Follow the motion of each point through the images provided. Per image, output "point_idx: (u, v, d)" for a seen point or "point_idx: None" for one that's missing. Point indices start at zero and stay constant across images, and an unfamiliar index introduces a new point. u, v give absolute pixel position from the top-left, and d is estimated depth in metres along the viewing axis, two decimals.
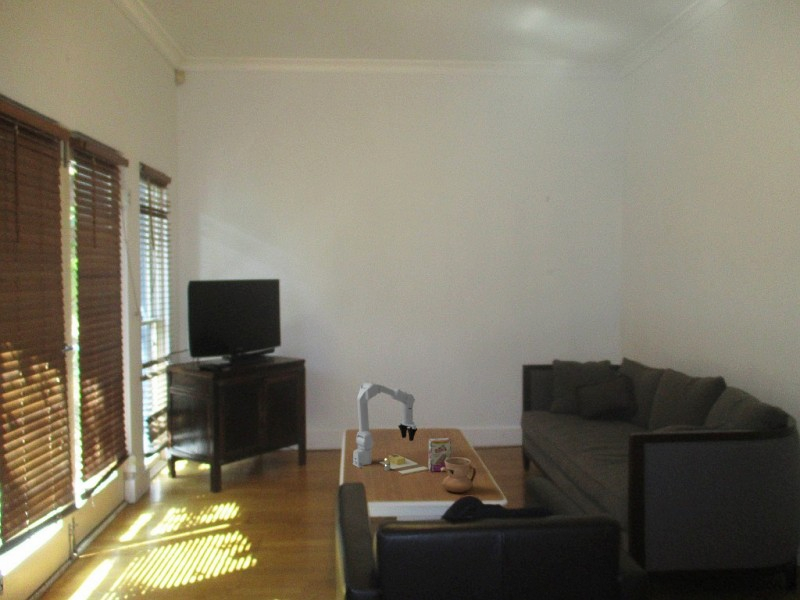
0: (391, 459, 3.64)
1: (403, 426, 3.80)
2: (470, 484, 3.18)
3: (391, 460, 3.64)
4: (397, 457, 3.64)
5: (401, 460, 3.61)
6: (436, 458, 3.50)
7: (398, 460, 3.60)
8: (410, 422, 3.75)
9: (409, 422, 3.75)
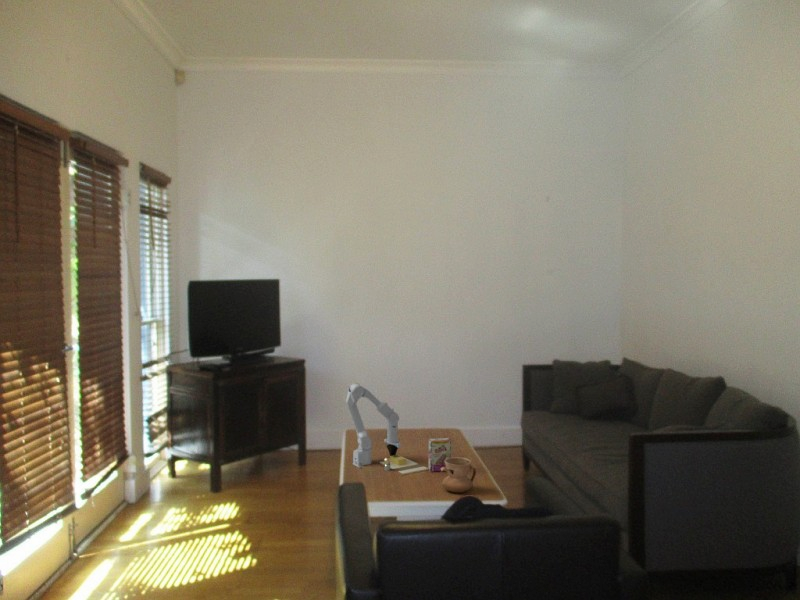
0: (392, 460, 3.63)
1: None
2: (470, 484, 3.18)
3: (392, 461, 3.63)
4: (399, 457, 3.63)
5: (402, 461, 3.59)
6: (436, 458, 3.50)
7: (399, 461, 3.58)
8: (395, 441, 3.65)
9: (394, 441, 3.65)
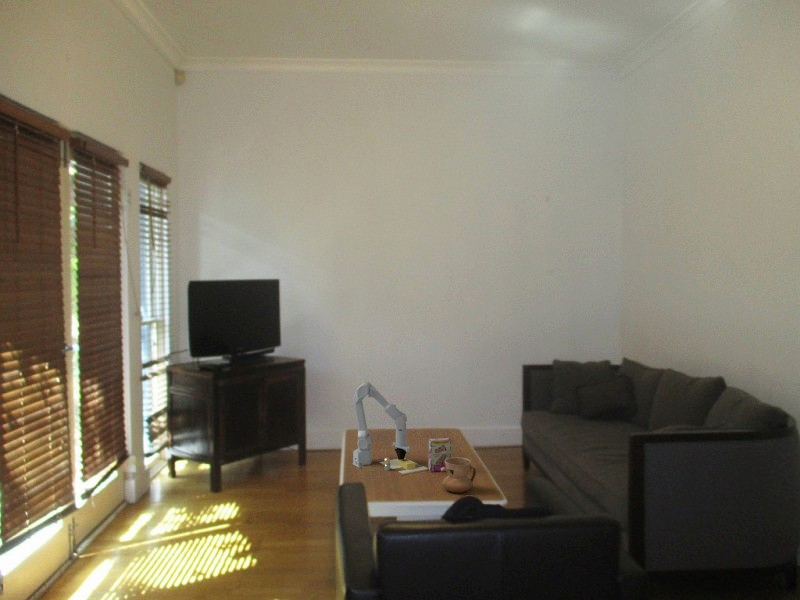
0: (401, 464, 3.56)
1: None
2: (470, 484, 3.18)
3: (401, 465, 3.56)
4: (407, 461, 3.55)
5: (411, 465, 3.52)
6: (436, 458, 3.50)
7: (408, 465, 3.51)
8: (404, 444, 3.58)
9: (403, 444, 3.58)
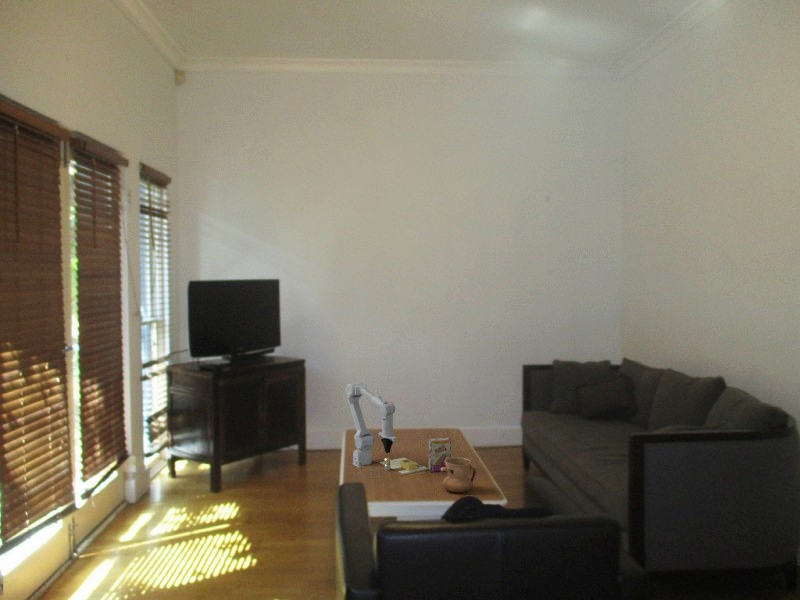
0: (402, 464, 3.54)
1: None
2: (470, 484, 3.18)
3: (402, 465, 3.54)
4: (409, 462, 3.54)
5: (413, 465, 3.51)
6: (436, 458, 3.50)
7: (410, 465, 3.50)
8: (390, 434, 3.48)
9: (389, 434, 3.48)
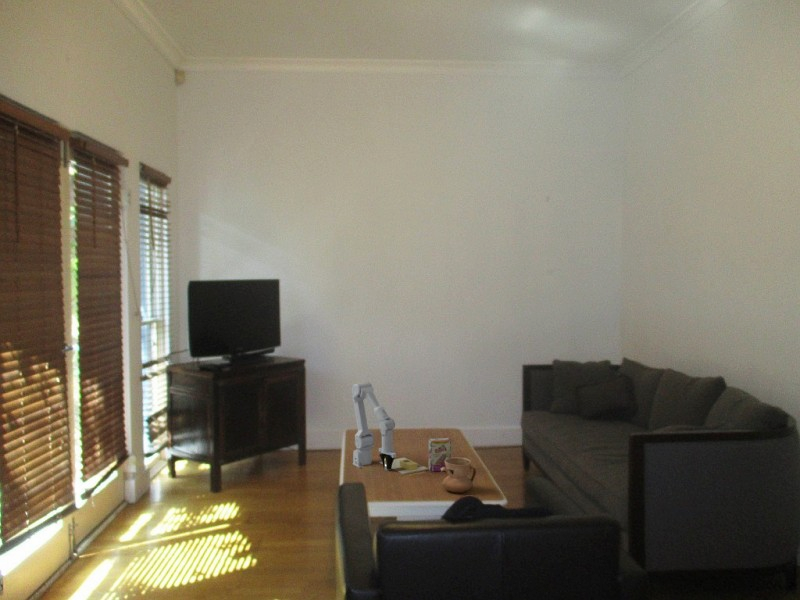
0: (402, 464, 3.54)
1: (384, 455, 3.52)
2: (470, 484, 3.18)
3: (402, 465, 3.54)
4: (409, 462, 3.54)
5: (413, 465, 3.51)
6: (436, 458, 3.50)
7: (410, 465, 3.50)
8: (390, 450, 3.49)
9: (389, 450, 3.48)
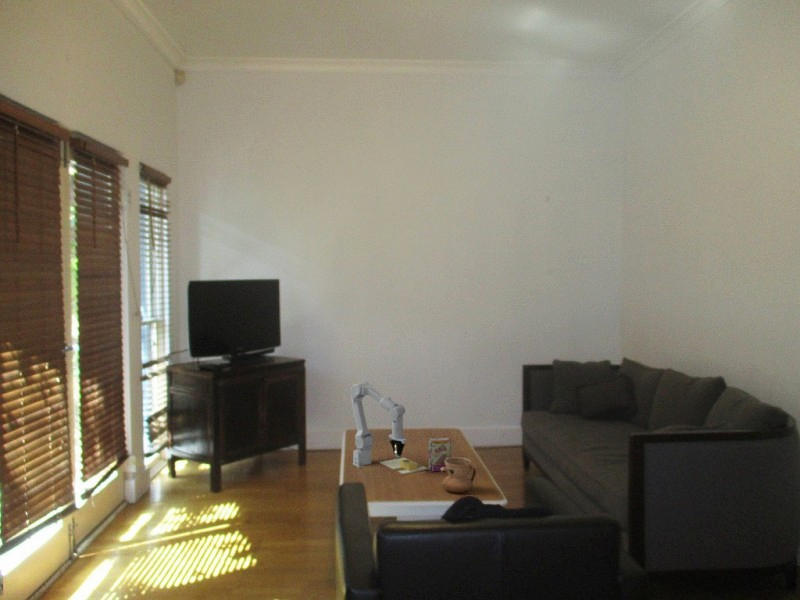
0: (402, 464, 3.54)
1: (395, 441, 3.52)
2: (470, 484, 3.18)
3: (402, 465, 3.54)
4: (409, 462, 3.54)
5: (413, 465, 3.51)
6: (436, 458, 3.50)
7: (410, 465, 3.50)
8: (400, 436, 3.48)
9: (399, 436, 3.48)
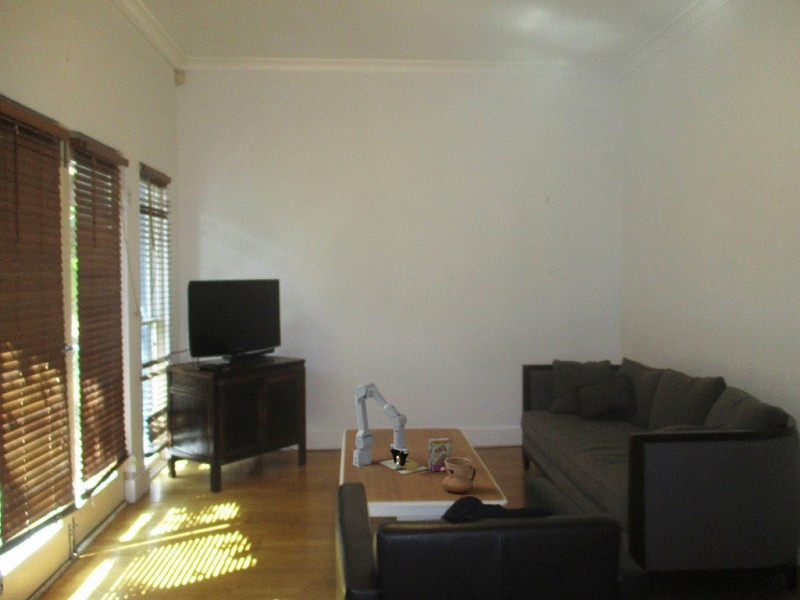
0: None
1: (395, 450, 3.54)
2: (470, 484, 3.18)
3: None
4: (409, 462, 3.54)
5: (413, 465, 3.51)
6: (436, 458, 3.50)
7: (410, 465, 3.50)
8: (402, 446, 3.49)
9: (401, 446, 3.48)
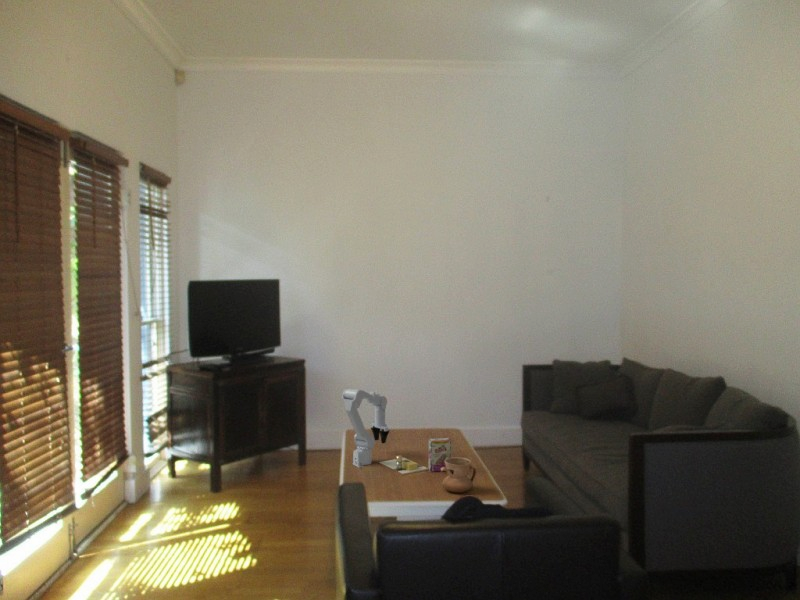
0: (402, 464, 3.54)
1: (376, 428, 3.78)
2: (470, 484, 3.18)
3: (402, 465, 3.54)
4: (409, 462, 3.54)
5: (413, 465, 3.51)
6: (436, 458, 3.50)
7: (410, 465, 3.50)
8: (382, 424, 3.72)
9: (381, 424, 3.72)
